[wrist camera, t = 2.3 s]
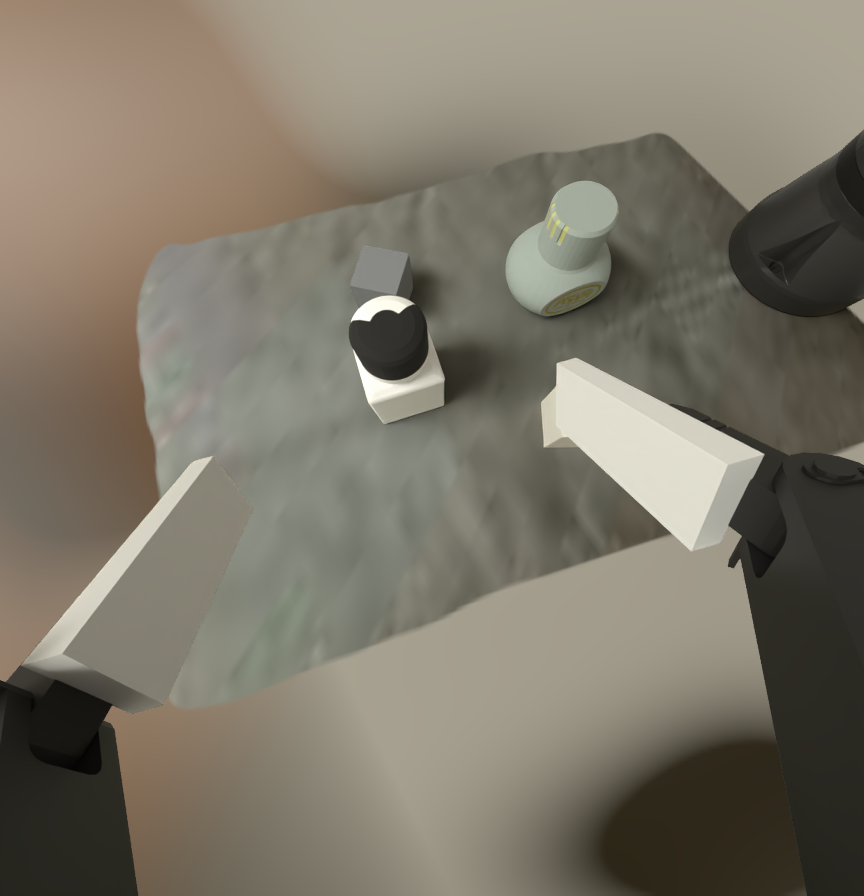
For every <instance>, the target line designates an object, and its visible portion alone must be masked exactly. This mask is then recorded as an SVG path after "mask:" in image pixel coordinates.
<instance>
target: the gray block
mask: <svg viewBox="0 0 864 896" xmlns="http://www.w3.org/2000/svg"><path fill="white" fill-rule="evenodd" d="M349 286H350V288H351V290H352V293H353V295H354V297H355V300H356V302H357V304H358V307H359V308H360V307H361V306H362V305H364V304H365V303H366V302H368V301H370V300H372V299H374V298H377V297H381V296H399V297H403V298H405V299H408V300H410V296H411V293H412V290H413V280H412V273H411V266H410V258H409V254H408V253H403V252H398V251H393V250H388V249H383V248H378V247H372V246H367V245H363V247H362V250H361V253H360V256H359V259H358V262H357V265H356V268H355V271H354V274H353V277H352V279H351V282H350V285H349Z"/></svg>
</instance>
